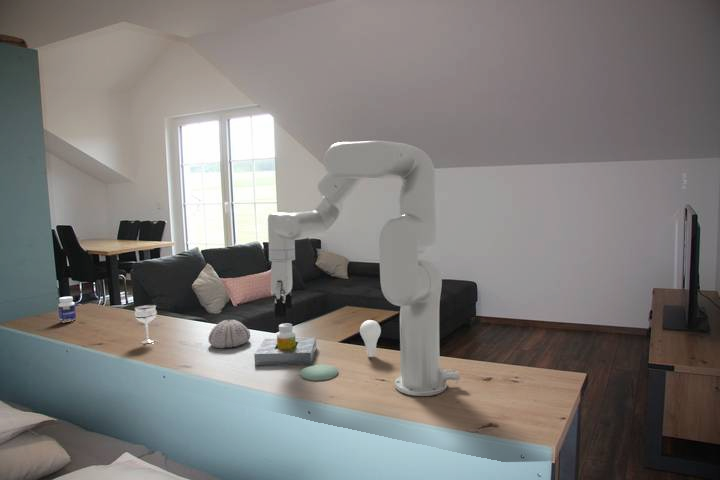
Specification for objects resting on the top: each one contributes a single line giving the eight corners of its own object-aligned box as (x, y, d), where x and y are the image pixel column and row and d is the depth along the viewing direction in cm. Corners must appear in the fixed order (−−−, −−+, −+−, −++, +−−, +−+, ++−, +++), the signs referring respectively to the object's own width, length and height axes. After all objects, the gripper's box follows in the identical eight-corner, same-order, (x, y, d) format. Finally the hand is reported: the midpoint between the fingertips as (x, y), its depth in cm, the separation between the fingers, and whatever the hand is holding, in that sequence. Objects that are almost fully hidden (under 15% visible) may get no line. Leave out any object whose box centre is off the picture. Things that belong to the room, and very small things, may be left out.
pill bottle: (64, 324, 189) (62, 299, 188) (56, 322, 192) (54, 298, 191) (79, 320, 194) (77, 296, 193) (71, 319, 197) (69, 295, 196)
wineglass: (159, 343, 160) (156, 308, 159) (137, 346, 158) (134, 310, 156) (158, 338, 167) (155, 304, 165) (136, 341, 164) (134, 306, 162)
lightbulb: (385, 355, 142) (384, 318, 141) (375, 361, 137) (374, 324, 136) (367, 352, 145) (366, 316, 144) (356, 358, 140) (355, 321, 139)
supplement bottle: (292, 360, 140) (291, 327, 139) (275, 359, 141) (273, 327, 140) (298, 354, 145) (297, 322, 144) (281, 353, 146) (280, 322, 145)
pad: (339, 366, 134) (338, 364, 134) (336, 380, 124) (336, 378, 124) (303, 367, 134) (303, 365, 134) (298, 381, 124) (298, 379, 124)
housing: (316, 348, 150) (315, 337, 150) (311, 364, 136) (310, 352, 136) (265, 349, 150) (264, 338, 150) (254, 365, 136) (254, 353, 136)
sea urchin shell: (199, 348, 154) (198, 323, 153) (228, 336, 166) (226, 313, 166) (232, 353, 149) (231, 327, 148) (259, 340, 161) (258, 316, 160)
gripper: (274, 251, 149) (276, 305, 151) (262, 259, 132) (265, 320, 134) (299, 250, 149) (300, 305, 151) (290, 259, 132) (291, 320, 134)
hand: (283, 312), depth 142 cm, fingers open, 9 cm apart
